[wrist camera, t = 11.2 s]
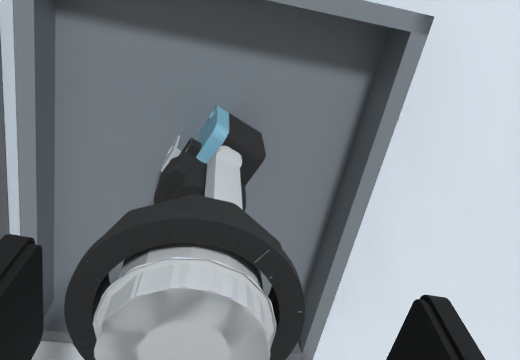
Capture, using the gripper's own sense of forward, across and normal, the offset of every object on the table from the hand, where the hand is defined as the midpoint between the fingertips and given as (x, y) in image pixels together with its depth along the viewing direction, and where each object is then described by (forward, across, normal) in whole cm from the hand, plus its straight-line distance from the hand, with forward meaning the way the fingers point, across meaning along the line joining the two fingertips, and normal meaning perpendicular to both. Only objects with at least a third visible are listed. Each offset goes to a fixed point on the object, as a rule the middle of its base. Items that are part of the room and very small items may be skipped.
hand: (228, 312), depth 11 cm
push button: (+8, +2, 0) cm, 8 cm away
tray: (+9, +1, 0) cm, 9 cm away
